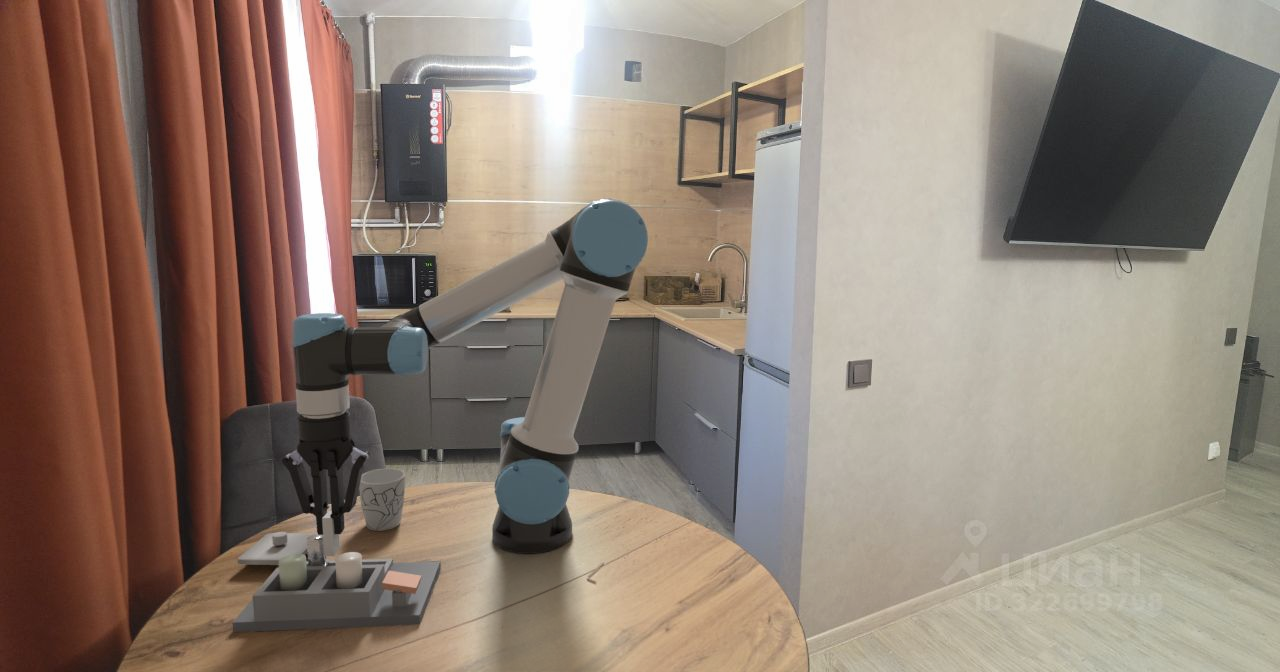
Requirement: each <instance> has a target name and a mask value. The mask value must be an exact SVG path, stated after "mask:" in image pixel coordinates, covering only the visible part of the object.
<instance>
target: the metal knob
mask: <svg viewBox="0 0 1280 672" xmlns="http://www.w3.org/2000/svg"><path fill="white" fill-rule="evenodd" d="M313 534H314V535H311V536H309V537H307V552H308V553H307V561H308V567H312V566H330V564H329V562H326V561H327V556H324V540H323V535H318V533H313Z"/></svg>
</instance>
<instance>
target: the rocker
mask: <svg viewBox="0 0 1280 672" xmlns="http://www.w3.org/2000/svg"><path fill="white" fill-rule="evenodd" d="M420 581H421V575H414V574H408V573H402V572H395V571H388V573H387V575H386V577H385V579H384V580H383V582H382V587H381V589H385V590H391V591H395V592H396V593H397V594H399V593H400V592H404V593H411V594H415V593H416V591H417V588H418V586H419V584H420Z"/></svg>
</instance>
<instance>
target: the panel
mask: <svg viewBox="0 0 1280 672" xmlns="http://www.w3.org/2000/svg"><path fill="white" fill-rule="evenodd" d="M326 562H329V564H330V566H312V567H308V560H306V567H307V584H306V585H305V586H304V587H302V588H300V589H298V590H294V591H283V590H281V588H280V577H279V567H276V568H275V569H274V571H273V572H272V573H271V574H270V575H269V576H268V577H267V578H266V580H265V581H264V583H262V584H261V586H259V588H257V590H256V591H255V592H254V594H253V595H252V599H251V600H250V601H249V603H248V604H247V605H246V606H245V607H244V609H242V611H240V613H239V614H238V615H237V617H235V619H234V620H233V621H232V622H231V623H232V633H243V632H244V633H245V632H271V631H273V632H274V631H295V630H317V629H322V630H323V629H338V628H339V629H342V628H343V629H345V628H364V627H365V628H368V627H387V626H389V627H390V626H391V627H393V626H413V625H414V626H415V625H418V626H419V625H421V623H422V620H423V617H424V615H425V613H426V610H427V606H428V605H429V601H430V600H431V599H430V598H431V595H432V594H433V590H434V588H435V586H436V583H437V580H438V578H439V575H440V572H441V570H442V569H441V568H442V567H441V561H412V562H411V561H410V562H407V561H406V562H394V559H393V558H375V559H373V558H371V559H370V558H369V559H362V577H363V581H362V583H361V584H360V585H359V586H357V587H354V588H350V589H340V588H338V587H337V583H336V564H335V560H326ZM388 571H395V572H402V573H408V574H414V575H421V581H420V584H419V586H418V588H417V591H416V593H415V594H411V593H404V592H400V593H399V594H397V593H396V592H395V591H391V590H385V589H381V587H382V582H383V580H384V579H385V577H386V575H387V573H388Z"/></svg>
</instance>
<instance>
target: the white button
mask: <svg viewBox="0 0 1280 672" xmlns="http://www.w3.org/2000/svg"><path fill="white" fill-rule="evenodd" d="M362 557H363V556H362V554H361V553H360V552H357V551H349V552H344V553H342V554H340V555H338V556H337V557H335V560H334V561H335V564H336V583H337V587H338V588H340V589H350V588H354V587H357V586H359V585H360V584H361V583H362V581H363V577H362V560H363V559H362Z"/></svg>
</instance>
